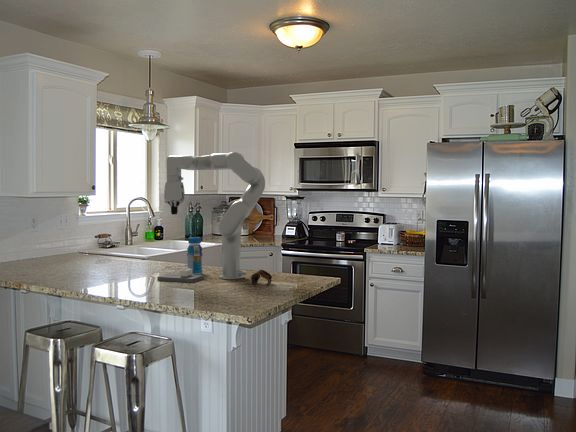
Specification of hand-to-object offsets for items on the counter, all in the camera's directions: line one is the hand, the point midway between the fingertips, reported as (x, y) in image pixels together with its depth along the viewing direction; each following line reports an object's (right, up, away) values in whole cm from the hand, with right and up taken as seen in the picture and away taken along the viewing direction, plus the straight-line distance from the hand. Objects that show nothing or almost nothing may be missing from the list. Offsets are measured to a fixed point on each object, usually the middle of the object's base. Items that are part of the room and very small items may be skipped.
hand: (174, 214), depth 275 cm
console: (+5, -34, -8) cm, 35 cm away
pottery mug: (+46, -35, -21) cm, 62 cm away
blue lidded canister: (+9, -33, +11) cm, 36 cm away
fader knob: (+8, -31, -9) cm, 34 cm away
